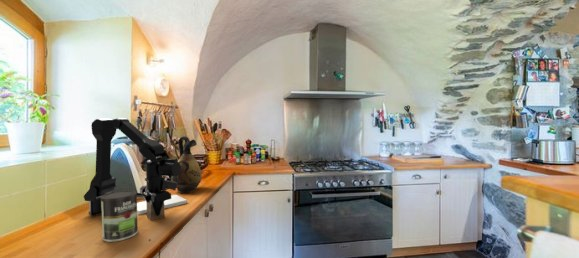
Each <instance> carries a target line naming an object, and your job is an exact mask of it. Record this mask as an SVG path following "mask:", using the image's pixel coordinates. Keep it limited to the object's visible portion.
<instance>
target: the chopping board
mask: <svg viewBox="0 0 579 258" xmlns="http://www.w3.org/2000/svg"><path fill="white" fill-rule="evenodd" d="M185 204H188V199H185V198H183V197H182V196H180V195H177V194H171V199H169V200H165V201H164V210H165V209H169V208H174V207H176V206H181V205H185ZM143 214H147V203H146V201H145V200H144V201H139V202H137V215H139V216H140V215H143Z"/></svg>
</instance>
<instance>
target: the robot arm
mask: <svg viewBox="0 0 579 258" xmlns="http://www.w3.org/2000/svg"><path fill="white" fill-rule="evenodd" d="M117 130H119V131H120V132H121V133H122V134H123V135H125V136H126V137H127V138H128V139H129V140H130V141H132V142H133V143H134V144H135V146H137V148H138V151H139V153H140V154H141V155H142V156H143V158H144V159H143V160H142V161H141V162H140V164H141V165H145V177H144V181H145V183H146V185H142V186H141V187H140V188H139V193H140V194H141V195H142V197H143V199H144V201H146V202H149V201H150V202H151V205H152V207H153V209H154V211H155V214H156V215H157V216H158V215H160V212H161V208H162V205H163V202H164V201H165V200H169V199H171V195H172V193H171V192H169V191H167V190H171V191H176V190H177V188H176V187H177V184H178V183H177V182H174V181H172V176H178V175H179V174H180V172H181V166H180V163H179V162H178V158H171V156H169V155H168V154H169V153H167V151H166V150H165V146H164V145H163V144H161V143H159V142H158V141H157V140H154V139H152V138H149V137H147V136H146V135H145V134H144V133H143V132H142V131H141V130H140V129H138V128H137V127H136V126H135V125H133V123H131V122H130V120H129V119H128V118H126V117H125V118H124V117H121V118H120V117H117V118H113V119H112V118H98V119H97V118H96V119H94V120H93V121H92V122H91V134H92V136H93V137H94V139H95V140H96V148H95V149H96V152H95V156H96V157H95V175H94V176H93V178H92V179H91V180H90V183H89V189H88V190H87V191H86V192H85V194H84V195H83V199H84V201H85V202H88V203H89V211H88V213H89V215H90V216H91V217H93V216H97V215H102V208H101V196H102V195H105V194H107V193H111V192H114V190H115V188H116V187H117V185H116V180H117V179H116V177H113V176H112V174H111V158H112V157H111V155H112V154H111V152H112V140H113V139H114V137H115V136H116V134H117ZM166 189H167V190H166Z"/></svg>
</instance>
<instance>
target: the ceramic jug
mask: <svg viewBox="0 0 579 258" xmlns="http://www.w3.org/2000/svg"><path fill="white" fill-rule="evenodd" d="M195 146H197V141H196V140H195V139H191V140H190V139H189V136H186V135H182V136H181V137H179V138H178V149H179V150H178V151H179V159H177V162H179V163H180V166H181V172H180V174H179V175H178V176H171V181H174V182H177V183H178V184H177V187H176V190H177V193H180V194H190V193H193V192H196V189H197V187H198V186H199V185H200V183H201V182H202V174H203V173H202V170H201V167H200V164H199V163H198V161H197V158H195V157H194V155H193V154H192V152H191V148H193V147H195Z"/></svg>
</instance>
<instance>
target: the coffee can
mask: <svg viewBox="0 0 579 258" xmlns="http://www.w3.org/2000/svg"><path fill="white" fill-rule="evenodd" d="M137 195H138V191H135V190H131V189H130V190H128V189H127V190H117V191H113V192H111V193H107V194H105V195H102V196H101V208H102V214H101V225H102V226H101V228H102V229H101V230H102V233H101V234H102V237H101V238H102V241H103V242H106V243H114V242H116V243H117V242H121V241H125V240H128V239H130V238H132V237H135V236H136V235H137V234H138V233H139V228H138V227H139V226H138V213H137V203H138V202H137V200H138V199H137Z"/></svg>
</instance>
